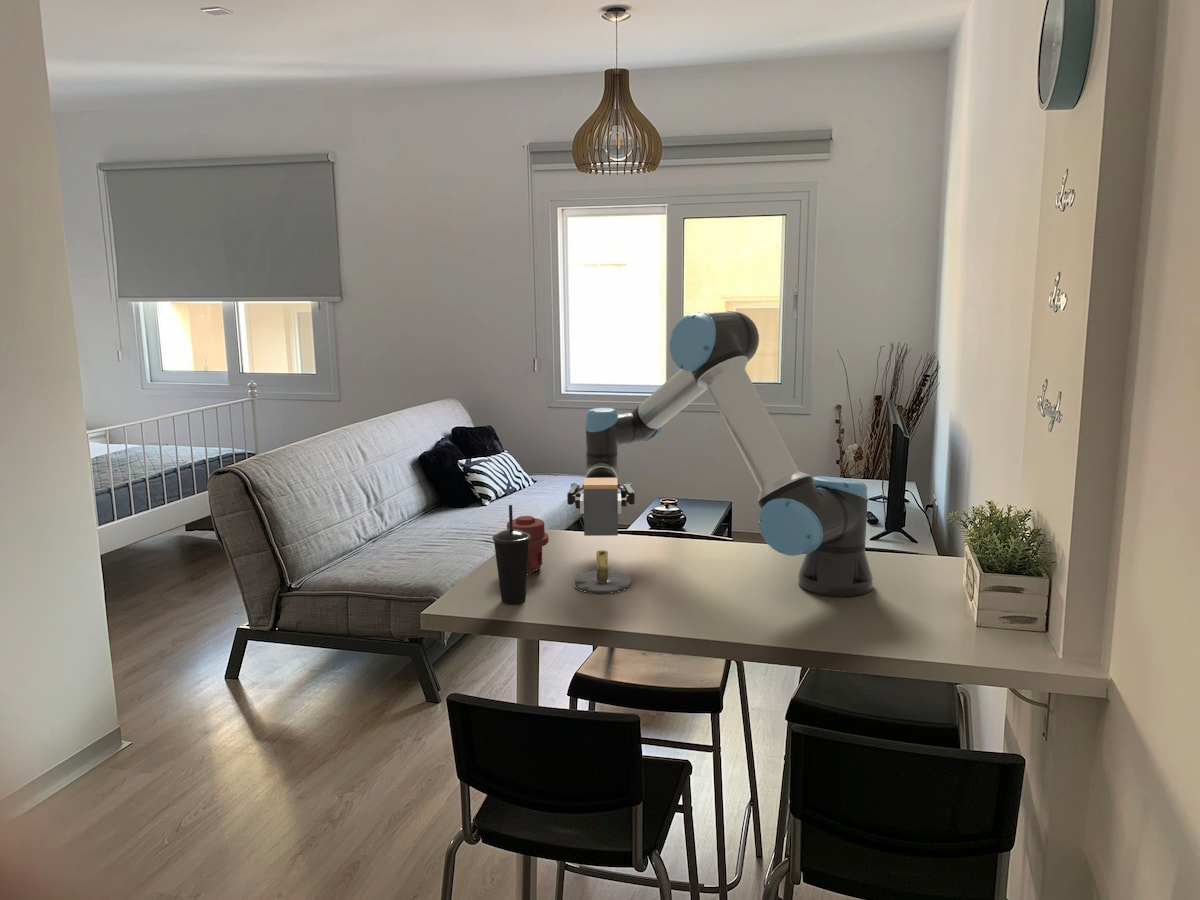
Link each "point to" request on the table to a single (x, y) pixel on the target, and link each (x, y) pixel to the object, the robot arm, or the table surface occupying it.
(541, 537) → the mechanical component
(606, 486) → the sleeve
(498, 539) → the drinking cup
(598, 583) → the post base
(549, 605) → the table surface
